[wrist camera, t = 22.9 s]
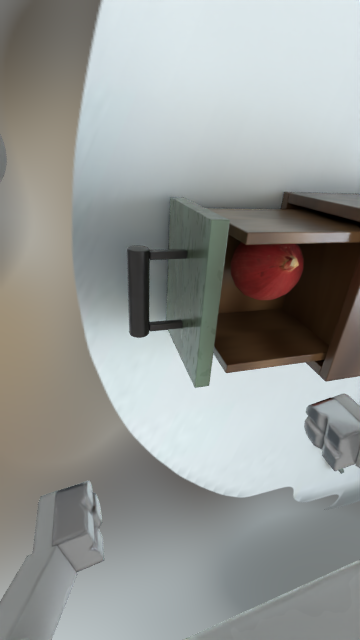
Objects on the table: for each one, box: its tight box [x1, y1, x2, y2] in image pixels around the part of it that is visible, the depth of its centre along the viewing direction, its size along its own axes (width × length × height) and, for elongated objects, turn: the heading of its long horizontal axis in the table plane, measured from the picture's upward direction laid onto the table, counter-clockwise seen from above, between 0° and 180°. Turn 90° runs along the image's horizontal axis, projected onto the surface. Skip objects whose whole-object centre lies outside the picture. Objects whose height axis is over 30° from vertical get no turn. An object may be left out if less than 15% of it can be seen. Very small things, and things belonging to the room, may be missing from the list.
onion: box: [231, 242, 304, 300], centre depth 26 cm, size 6×6×8 cm
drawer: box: [127, 197, 360, 388], centre depth 26 cm, size 18×13×10 cm
